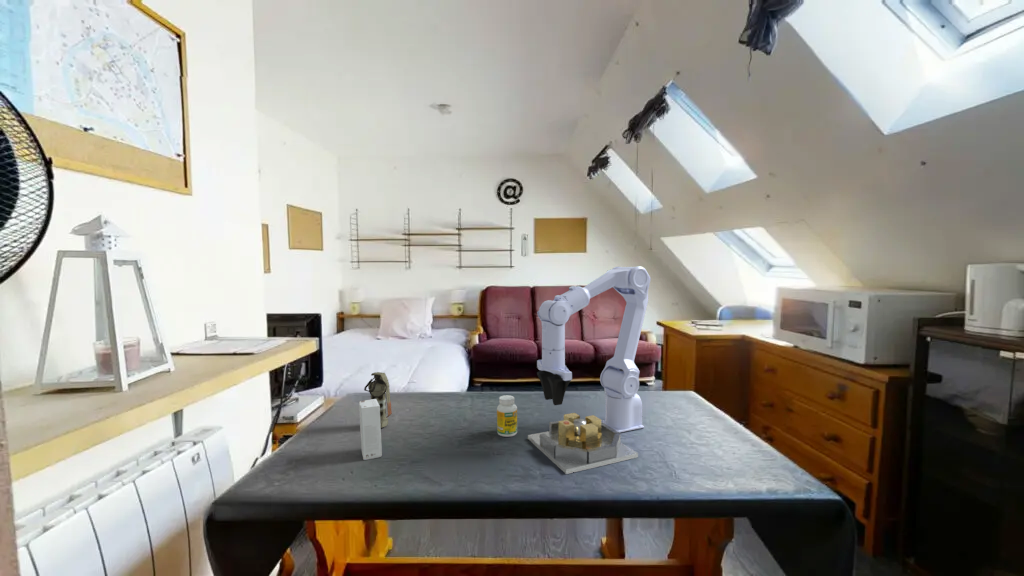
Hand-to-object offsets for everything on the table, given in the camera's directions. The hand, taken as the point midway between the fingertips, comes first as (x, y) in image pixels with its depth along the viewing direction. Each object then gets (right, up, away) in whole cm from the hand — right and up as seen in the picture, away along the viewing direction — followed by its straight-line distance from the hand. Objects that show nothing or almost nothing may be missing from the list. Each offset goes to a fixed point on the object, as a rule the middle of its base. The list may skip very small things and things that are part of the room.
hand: (553, 401), depth 99 cm
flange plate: (+6, -10, -4) cm, 12 cm away
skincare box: (-44, -11, -6) cm, 46 cm away
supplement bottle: (-12, -10, +5) cm, 16 cm away
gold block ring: (+6, -9, -4) cm, 11 cm away
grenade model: (-47, -10, +9) cm, 49 cm away
